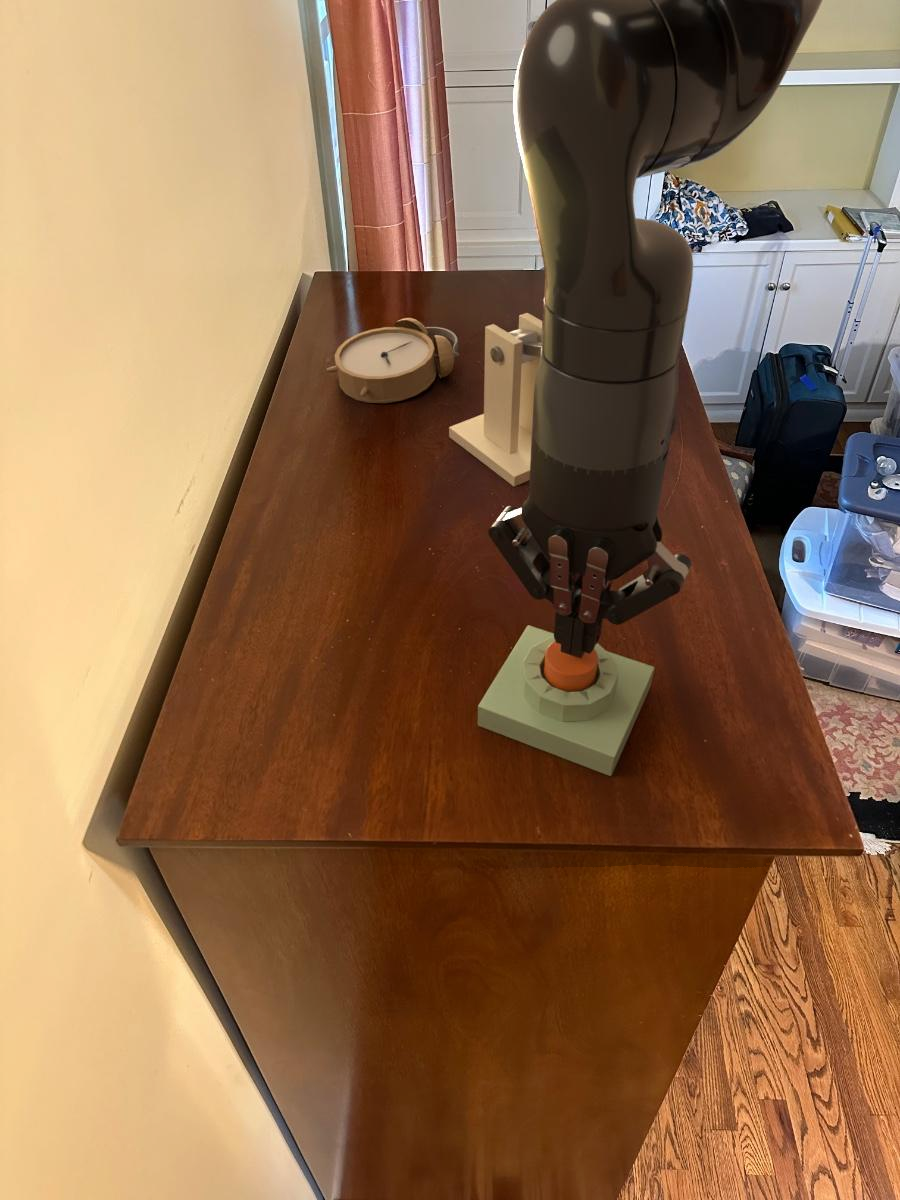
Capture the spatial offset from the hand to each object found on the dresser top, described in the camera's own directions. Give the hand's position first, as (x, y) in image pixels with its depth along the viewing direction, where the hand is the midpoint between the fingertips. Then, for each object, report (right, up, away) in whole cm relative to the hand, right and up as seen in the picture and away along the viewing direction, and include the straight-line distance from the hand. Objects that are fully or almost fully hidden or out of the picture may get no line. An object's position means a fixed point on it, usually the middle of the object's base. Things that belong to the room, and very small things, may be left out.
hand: (576, 647), depth 59 cm
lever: (+1, +24, +18) cm, 30 cm away
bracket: (-2, +19, +29) cm, 35 cm away
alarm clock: (-14, +29, +41) cm, 52 cm away
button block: (0, -4, +4) cm, 6 cm away
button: (0, -2, +2) cm, 2 cm away
